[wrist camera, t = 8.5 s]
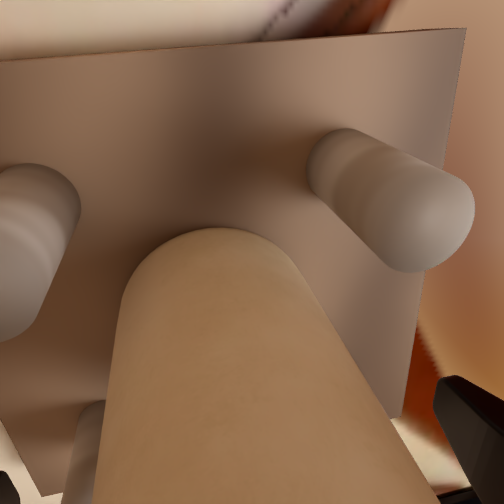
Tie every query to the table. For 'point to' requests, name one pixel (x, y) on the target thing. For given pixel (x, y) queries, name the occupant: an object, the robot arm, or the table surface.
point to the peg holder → (215, 204)
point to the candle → (240, 389)
